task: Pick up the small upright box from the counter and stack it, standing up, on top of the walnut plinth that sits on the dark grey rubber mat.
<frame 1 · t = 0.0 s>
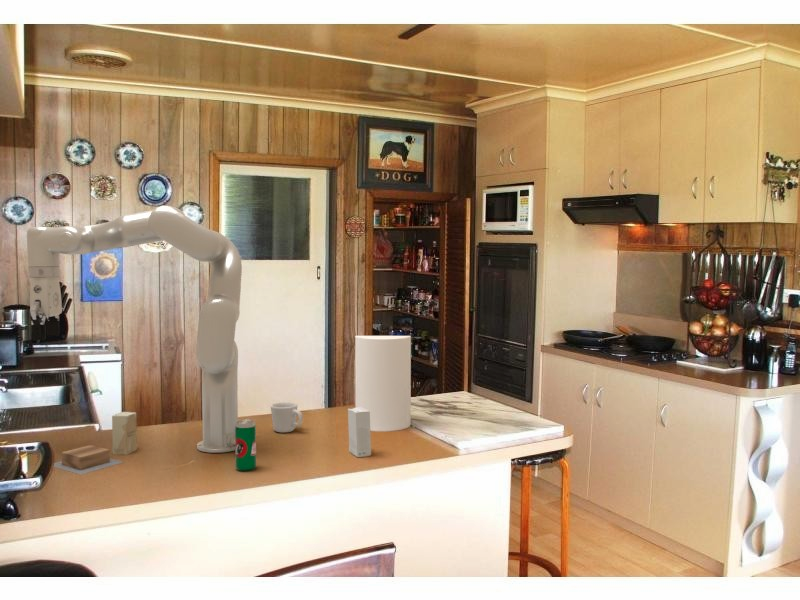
hand: (46, 337, 188), 31 cm above the countertop, tool pointing down, fingers open, 9 cm apart
cylinder: (383, 424, 221), on the countertop
walnut plinth: (85, 463, 178), resting on slate mat
slate mat: (86, 466, 178), on the countertop
soda can: (246, 469, 176), on the countertop
box: (125, 455, 189), on the countertop
skincare box: (359, 454, 189), on the countertop
cup: (287, 432, 213), on the countertop
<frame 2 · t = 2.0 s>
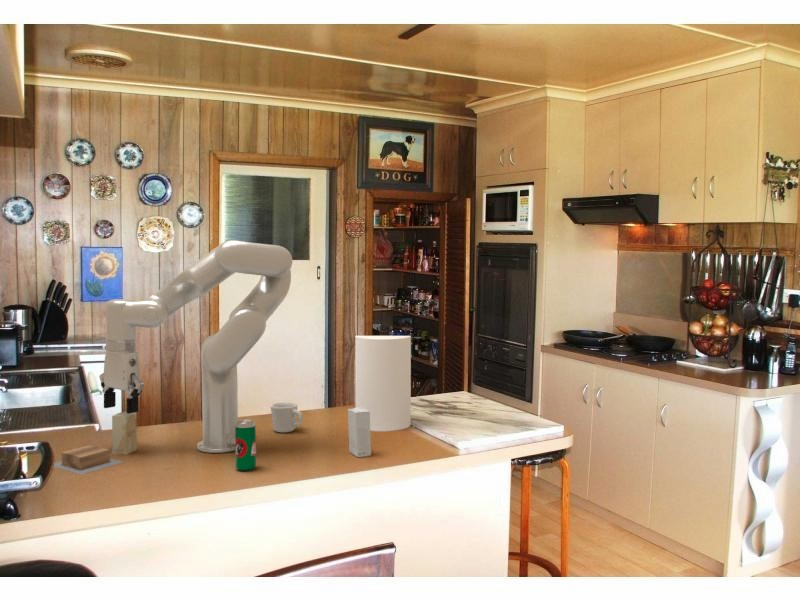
hand: (120, 409, 188), 12 cm above the countertop, tool pointing down, fingers open, 9 cm apart
nothing on the countertop moved.
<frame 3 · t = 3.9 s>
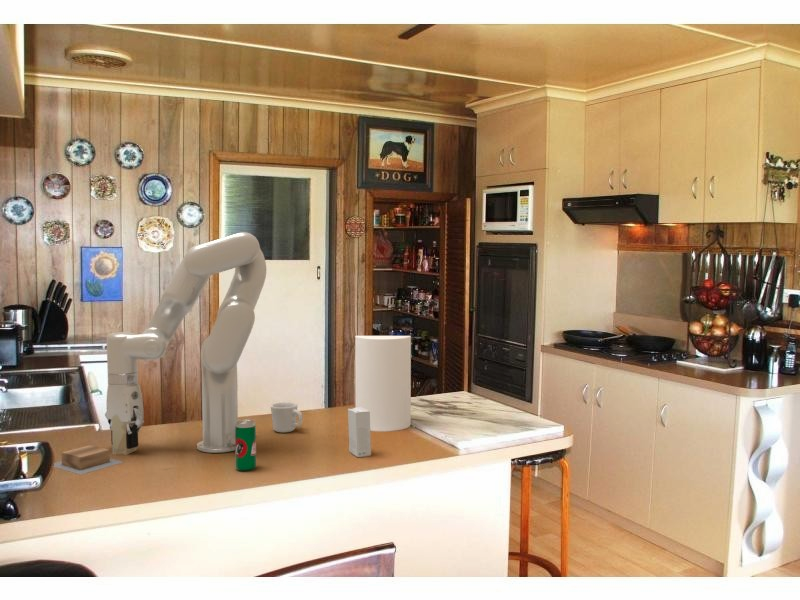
hand: (124, 445, 188), 3 cm above the countertop, tool pointing down, fingers closed on box, 5 cm apart
box: (125, 455, 189), on the countertop, touching gripper
everything else where it was.
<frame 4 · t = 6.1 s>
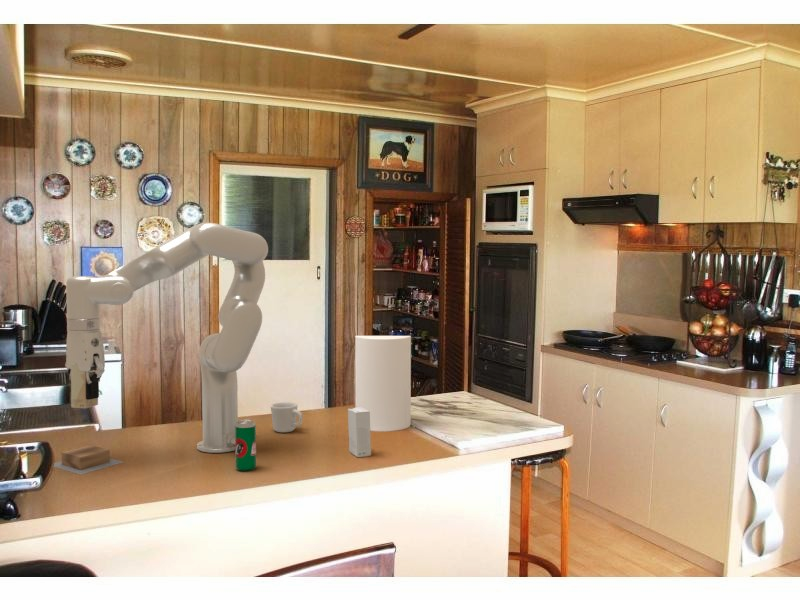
hand: (84, 396, 177), 18 cm above the countertop, tool pointing down, fingers closed on box, 5 cm apart
box: (85, 407, 177), point 15 cm above the countertop, touching gripper
everything else where it was.
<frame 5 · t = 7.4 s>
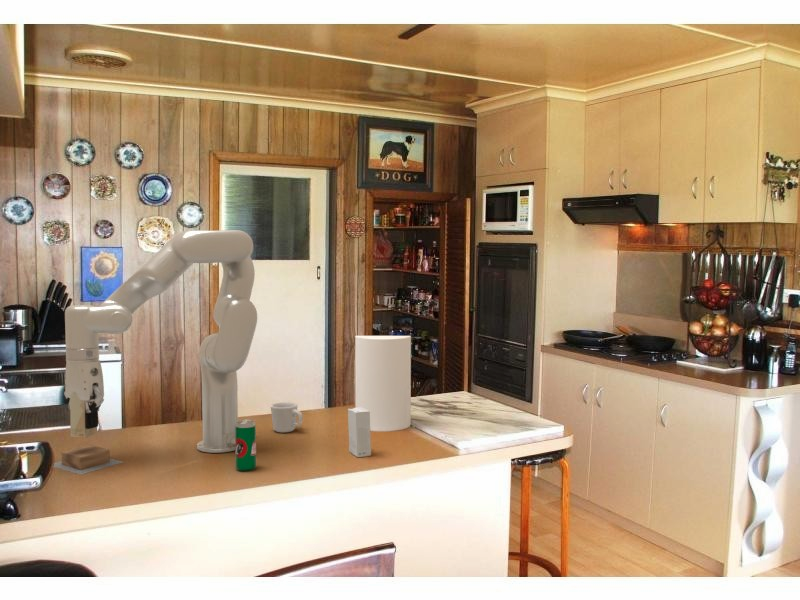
hand: (84, 425, 177), 11 cm above the countertop, tool pointing down, fingers closed on box, 5 cm apart
box: (84, 435, 177), point 8 cm above the countertop, touching gripper
everything else where it was.
when the fingers open (7 cm above the countertop, at t = 8.4 s): box stays where it is, resting on walnut plinth.
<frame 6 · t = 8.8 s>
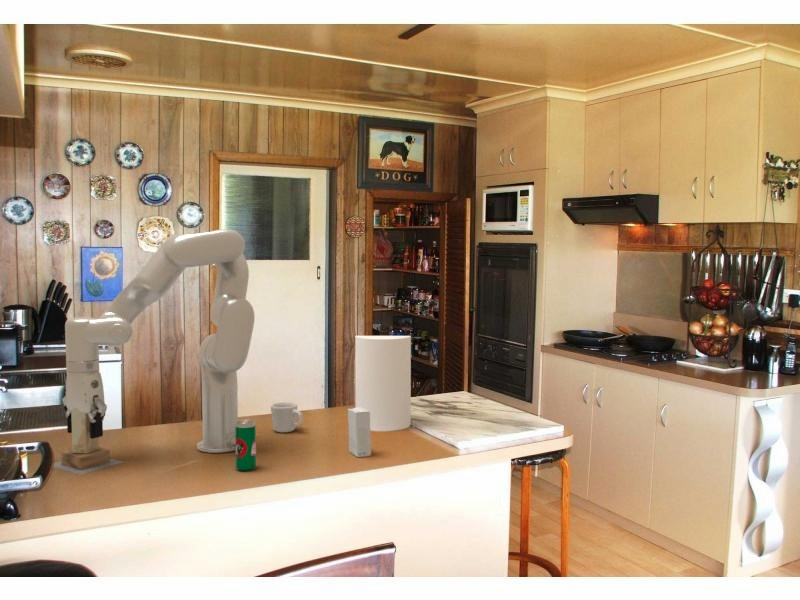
hand: (85, 434, 177), 8 cm above the countertop, tool pointing down, fingers open, 9 cm apart
box: (86, 451, 178), point 4 cm above the countertop, touching walnut plinth
everything else where it was.
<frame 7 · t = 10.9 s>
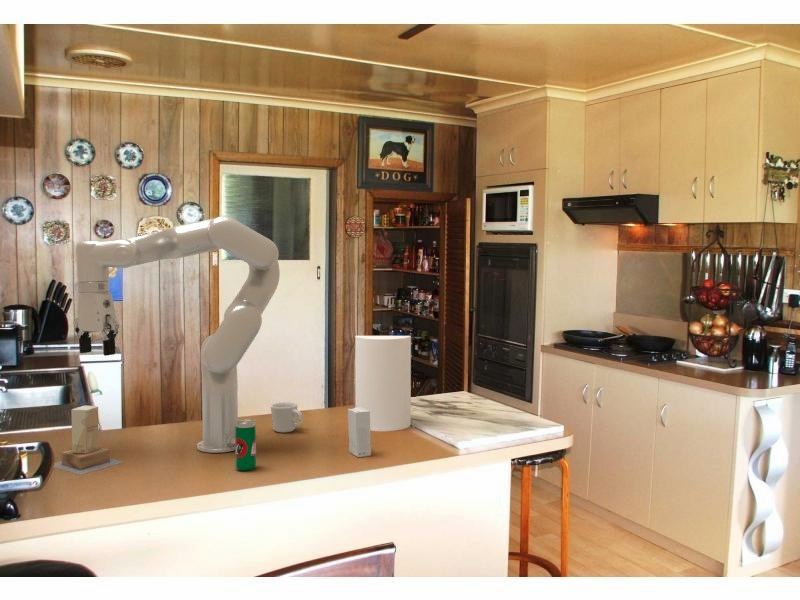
hand: (97, 353, 184), 28 cm above the countertop, tool pointing down, fingers open, 9 cm apart
nothing on the countertop moved.
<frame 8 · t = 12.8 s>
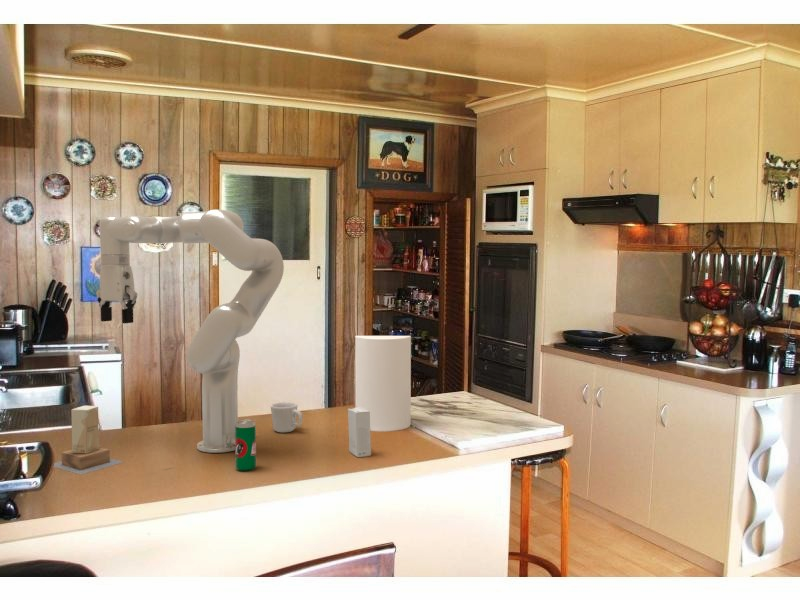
hand: (117, 322, 199), 34 cm above the countertop, tool pointing down, fingers open, 9 cm apart
nothing on the countertop moved.
at the end: box inside the target area on the walnut plinth (0.2 cm from its centre), point 3.0 cm above the walnut plinth's base; box tilted 0°; the gripper is holding nothing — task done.
